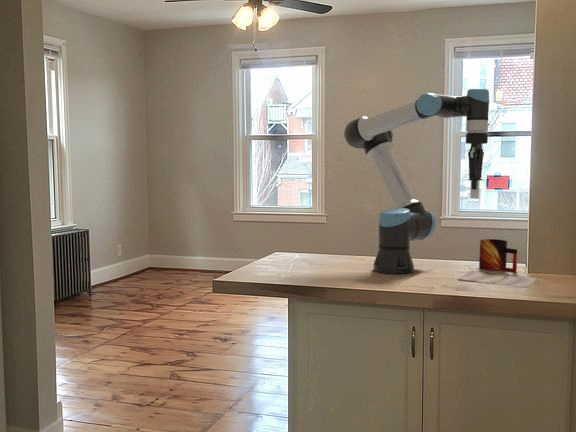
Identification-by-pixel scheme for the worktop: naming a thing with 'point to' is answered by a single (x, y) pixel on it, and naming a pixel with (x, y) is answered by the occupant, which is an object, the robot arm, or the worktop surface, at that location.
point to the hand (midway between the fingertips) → (474, 198)
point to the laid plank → (516, 281)
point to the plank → (481, 277)
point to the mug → (496, 255)
